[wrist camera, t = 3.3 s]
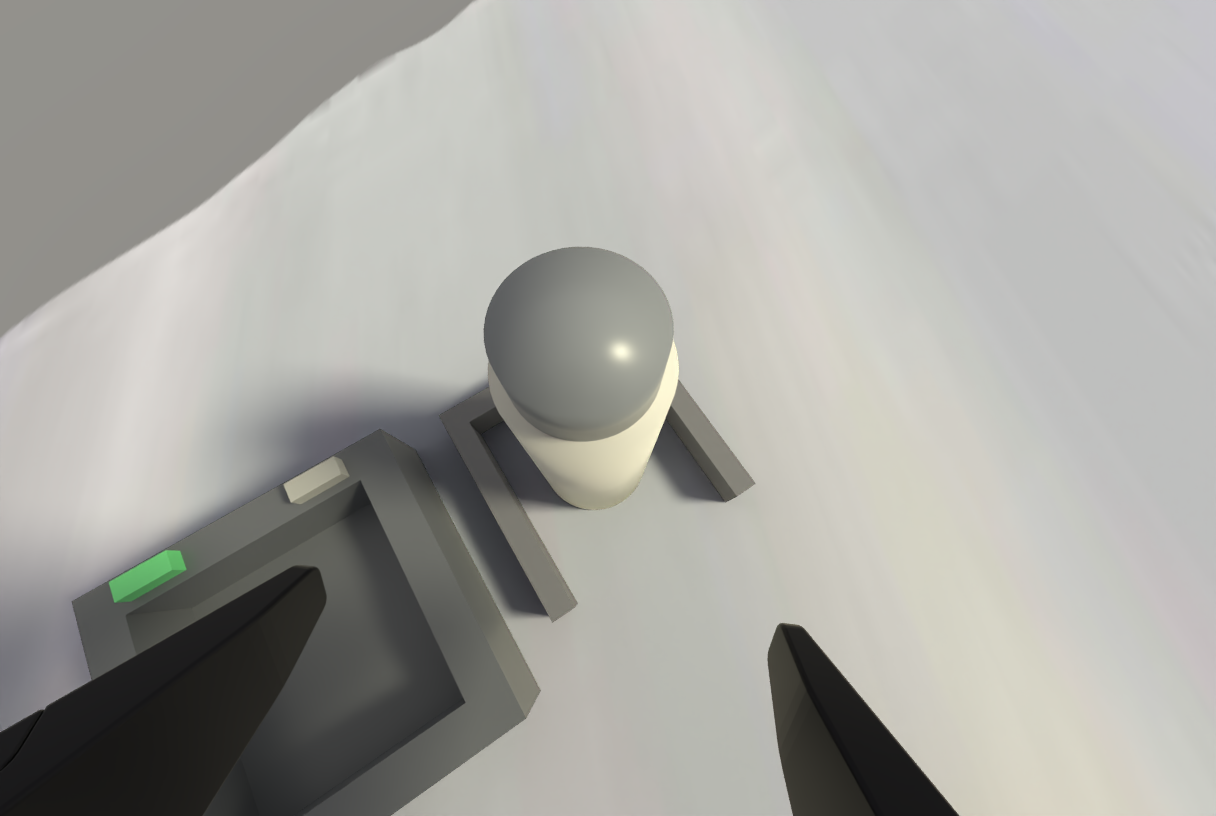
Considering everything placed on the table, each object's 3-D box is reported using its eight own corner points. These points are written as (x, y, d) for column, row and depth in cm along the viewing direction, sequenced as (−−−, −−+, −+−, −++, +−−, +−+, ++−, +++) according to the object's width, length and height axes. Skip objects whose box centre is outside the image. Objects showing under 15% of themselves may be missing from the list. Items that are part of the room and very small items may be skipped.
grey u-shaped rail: (742, 490, 22) (755, 483, 20) (557, 616, 20) (552, 622, 18) (624, 328, 24) (626, 309, 22) (452, 427, 23) (438, 415, 21)
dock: (540, 690, 19) (523, 724, 15) (255, 893, 17) (147, 994, 13) (415, 449, 22) (373, 424, 18) (162, 595, 20) (52, 602, 16)
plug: (664, 473, 22) (738, 357, 10) (578, 530, 21) (536, 482, 9) (609, 393, 23) (612, 199, 11) (525, 443, 22) (425, 295, 10)
